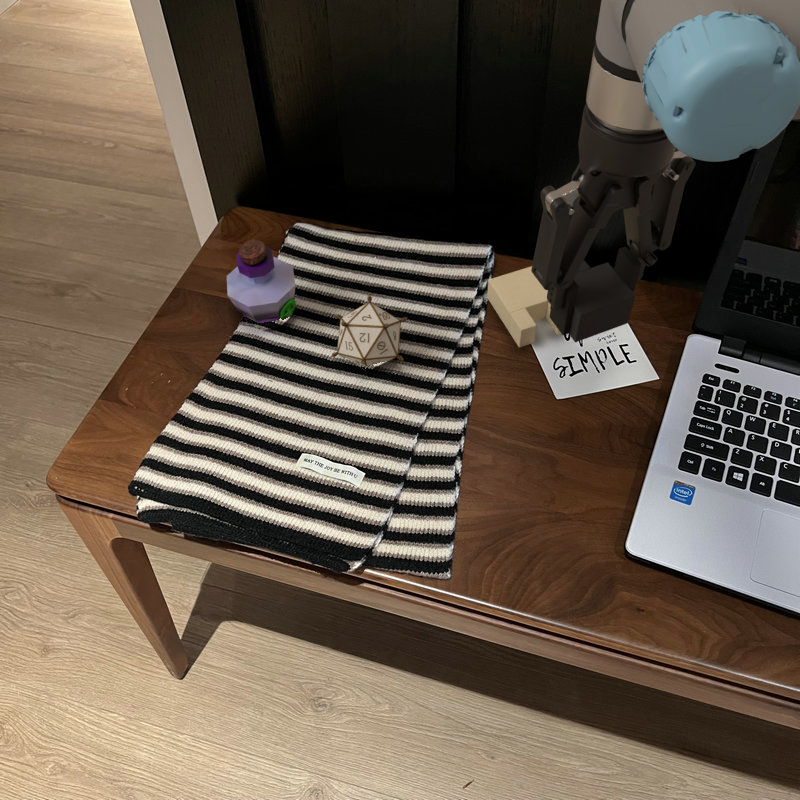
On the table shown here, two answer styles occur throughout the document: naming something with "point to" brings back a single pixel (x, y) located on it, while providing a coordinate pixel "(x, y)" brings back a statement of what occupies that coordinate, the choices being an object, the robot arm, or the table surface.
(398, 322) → the game die
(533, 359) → the table surface
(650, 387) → the table surface
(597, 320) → the black pad
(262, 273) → the potion bottle
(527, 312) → the base pad
